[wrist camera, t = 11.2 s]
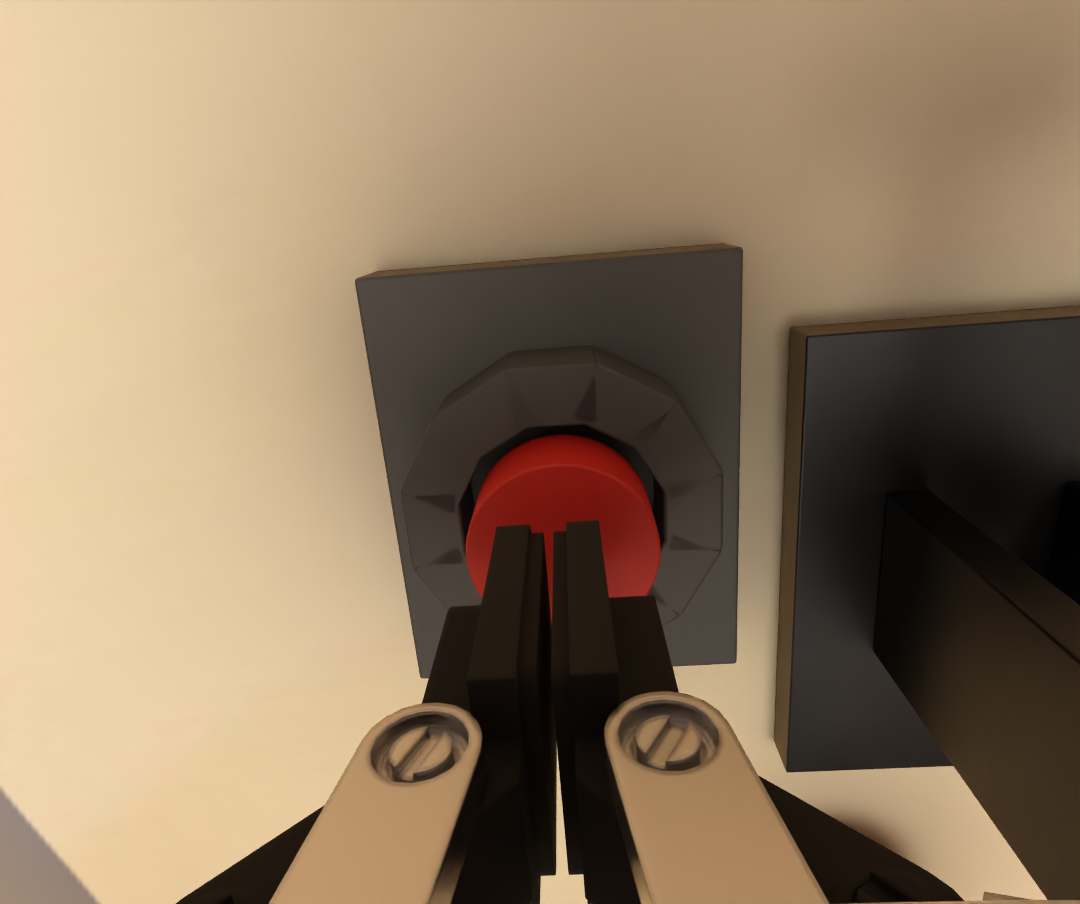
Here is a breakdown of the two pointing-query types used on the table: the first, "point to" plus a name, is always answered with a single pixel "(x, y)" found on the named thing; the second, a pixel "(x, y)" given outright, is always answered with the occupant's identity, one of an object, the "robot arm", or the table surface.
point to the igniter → (565, 411)
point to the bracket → (939, 564)
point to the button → (569, 508)
